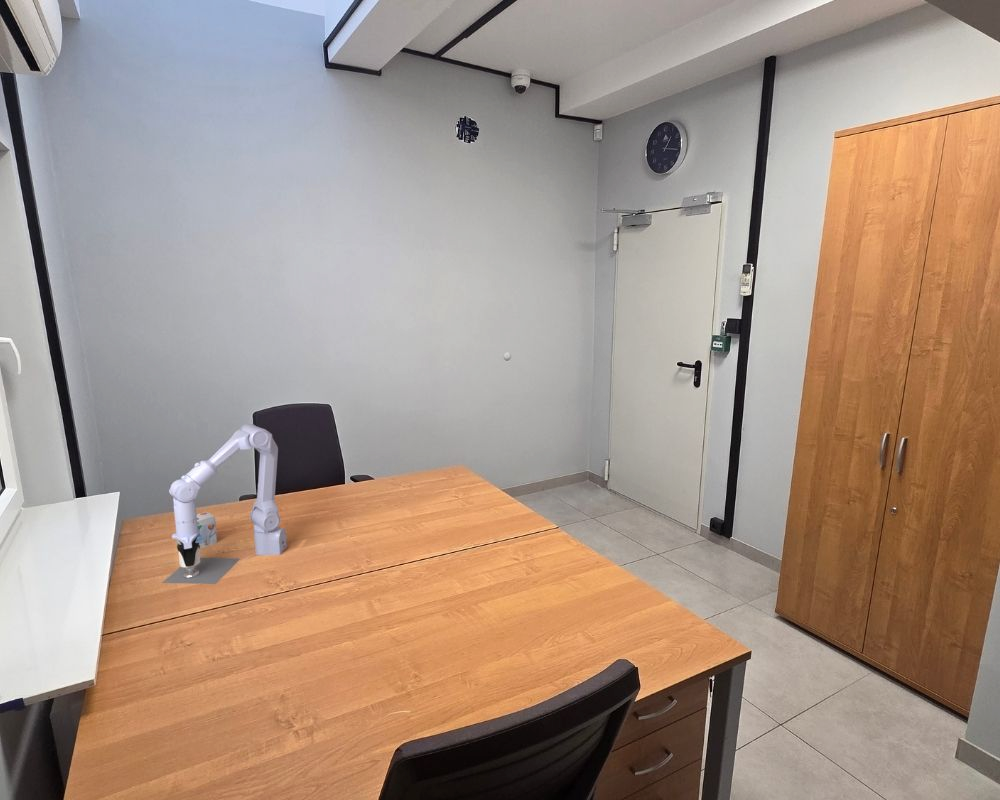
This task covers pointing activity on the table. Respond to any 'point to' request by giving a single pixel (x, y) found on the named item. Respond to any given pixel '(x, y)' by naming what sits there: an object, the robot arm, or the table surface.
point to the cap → (197, 559)
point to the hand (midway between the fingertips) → (189, 561)
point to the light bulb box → (205, 530)
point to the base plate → (204, 571)
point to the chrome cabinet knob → (191, 572)
